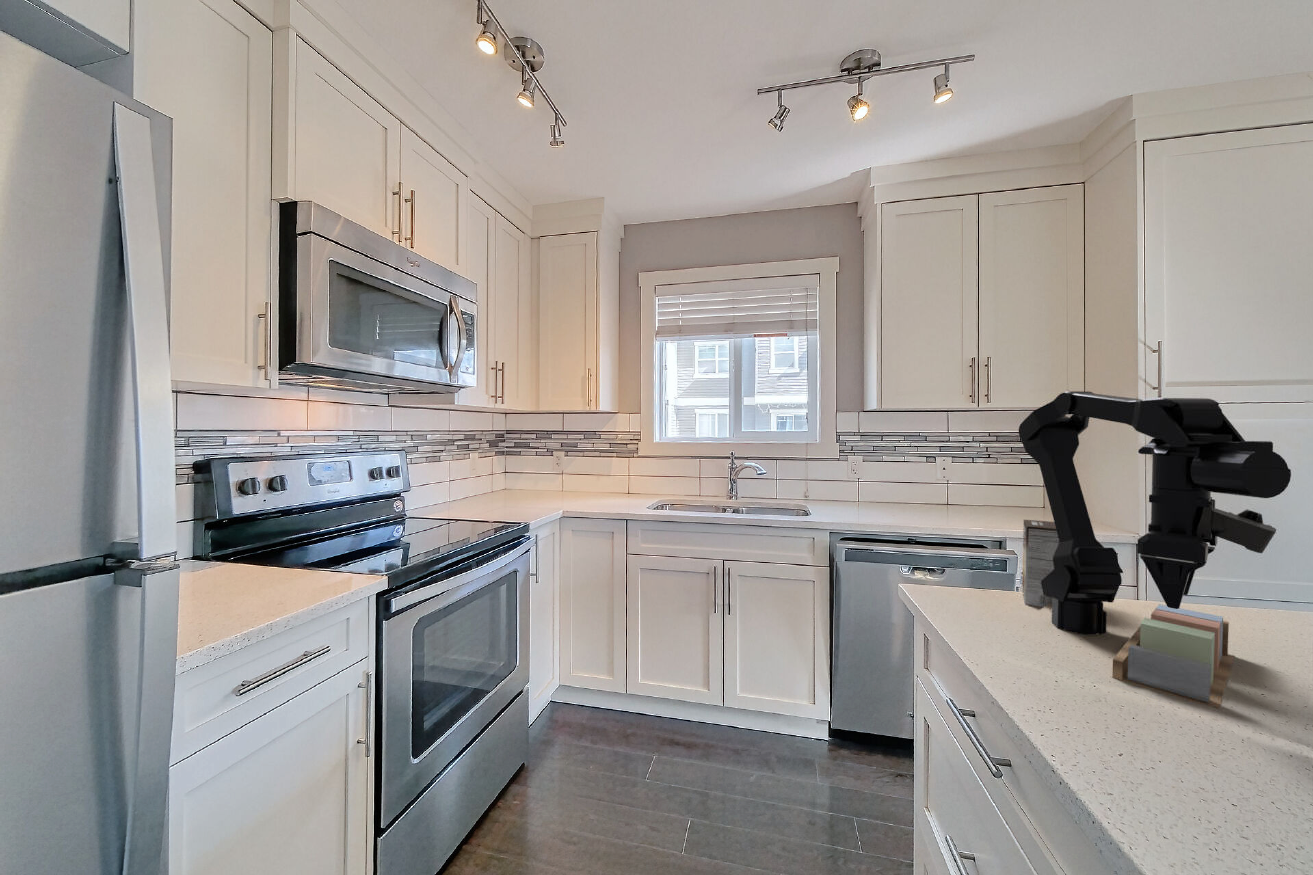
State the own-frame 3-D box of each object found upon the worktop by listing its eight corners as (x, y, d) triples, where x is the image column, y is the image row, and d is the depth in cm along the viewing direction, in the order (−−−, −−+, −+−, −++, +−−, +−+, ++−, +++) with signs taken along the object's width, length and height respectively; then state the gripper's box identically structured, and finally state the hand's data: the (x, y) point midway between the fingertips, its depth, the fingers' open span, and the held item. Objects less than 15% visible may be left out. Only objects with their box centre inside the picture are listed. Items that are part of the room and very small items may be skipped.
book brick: (1217, 669, 74) (1218, 628, 74) (1150, 652, 79) (1151, 614, 79) (1219, 662, 76) (1220, 622, 76) (1154, 646, 81) (1155, 609, 81)
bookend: (1208, 703, 64) (1210, 667, 64) (1127, 679, 70) (1128, 646, 70) (1210, 699, 65) (1211, 664, 65) (1129, 676, 71) (1130, 644, 71)
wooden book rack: (1218, 716, 63) (1220, 668, 63) (1112, 684, 71) (1113, 641, 71) (1234, 662, 78) (1235, 623, 78) (1144, 640, 86) (1145, 604, 86)
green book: (1210, 687, 69) (1211, 639, 68) (1139, 667, 74) (1140, 623, 74) (1213, 679, 71) (1214, 632, 71) (1143, 661, 76) (1145, 617, 76)
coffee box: (1020, 592, 111) (1022, 518, 111) (1058, 597, 108) (1060, 521, 108) (1024, 604, 103) (1026, 525, 103) (1064, 611, 100) (1066, 528, 100)
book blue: (1219, 662, 76) (1220, 622, 76) (1154, 646, 82) (1155, 608, 81) (1222, 655, 78) (1223, 616, 78) (1158, 640, 84) (1159, 604, 84)
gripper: (1269, 500, 59) (1266, 635, 59) (1272, 489, 71) (1269, 602, 71) (1137, 491, 68) (1135, 609, 68) (1159, 482, 79) (1157, 583, 80)
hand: (1177, 600), depth 71 cm, fingers open, 9 cm apart
